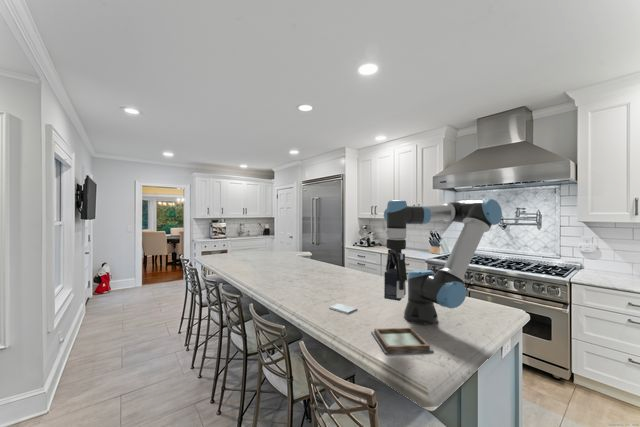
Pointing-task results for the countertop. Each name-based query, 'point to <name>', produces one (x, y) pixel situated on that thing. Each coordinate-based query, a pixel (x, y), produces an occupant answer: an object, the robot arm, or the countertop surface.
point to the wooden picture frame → (400, 341)
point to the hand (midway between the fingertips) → (395, 293)
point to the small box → (391, 285)
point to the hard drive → (343, 308)
